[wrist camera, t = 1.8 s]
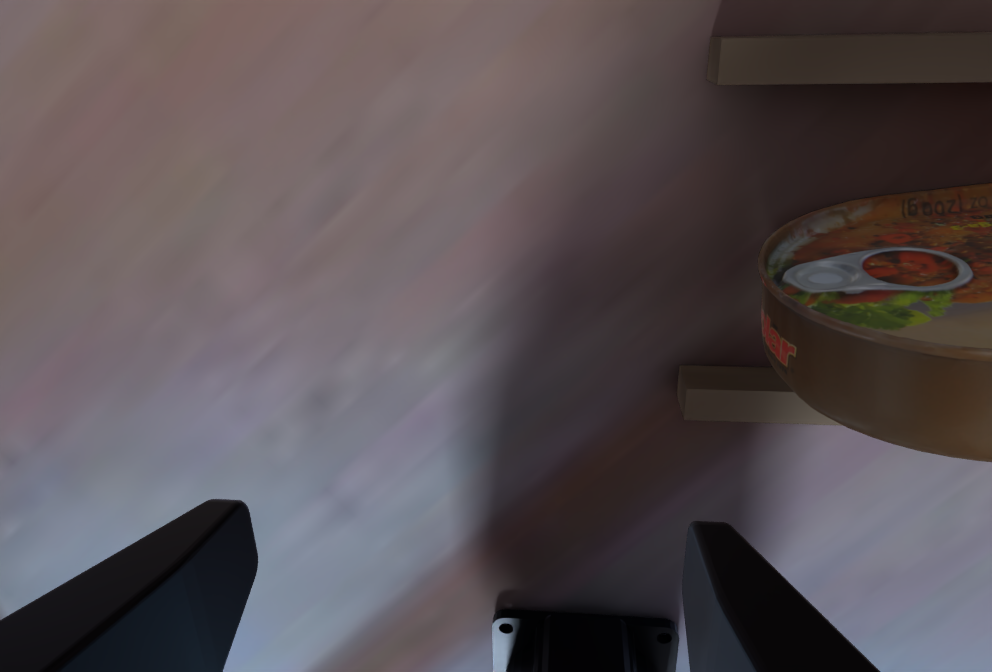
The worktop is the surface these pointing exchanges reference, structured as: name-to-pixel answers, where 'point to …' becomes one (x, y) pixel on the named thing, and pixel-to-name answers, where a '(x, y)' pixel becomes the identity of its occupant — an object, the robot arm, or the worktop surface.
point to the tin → (888, 316)
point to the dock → (815, 63)
